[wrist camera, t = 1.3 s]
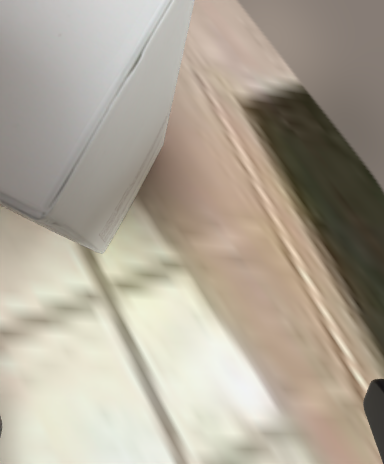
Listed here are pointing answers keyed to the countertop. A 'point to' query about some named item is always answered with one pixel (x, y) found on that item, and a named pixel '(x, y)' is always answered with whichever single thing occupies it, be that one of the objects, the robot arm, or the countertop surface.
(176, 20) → the supplement box
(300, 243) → the countertop surface
